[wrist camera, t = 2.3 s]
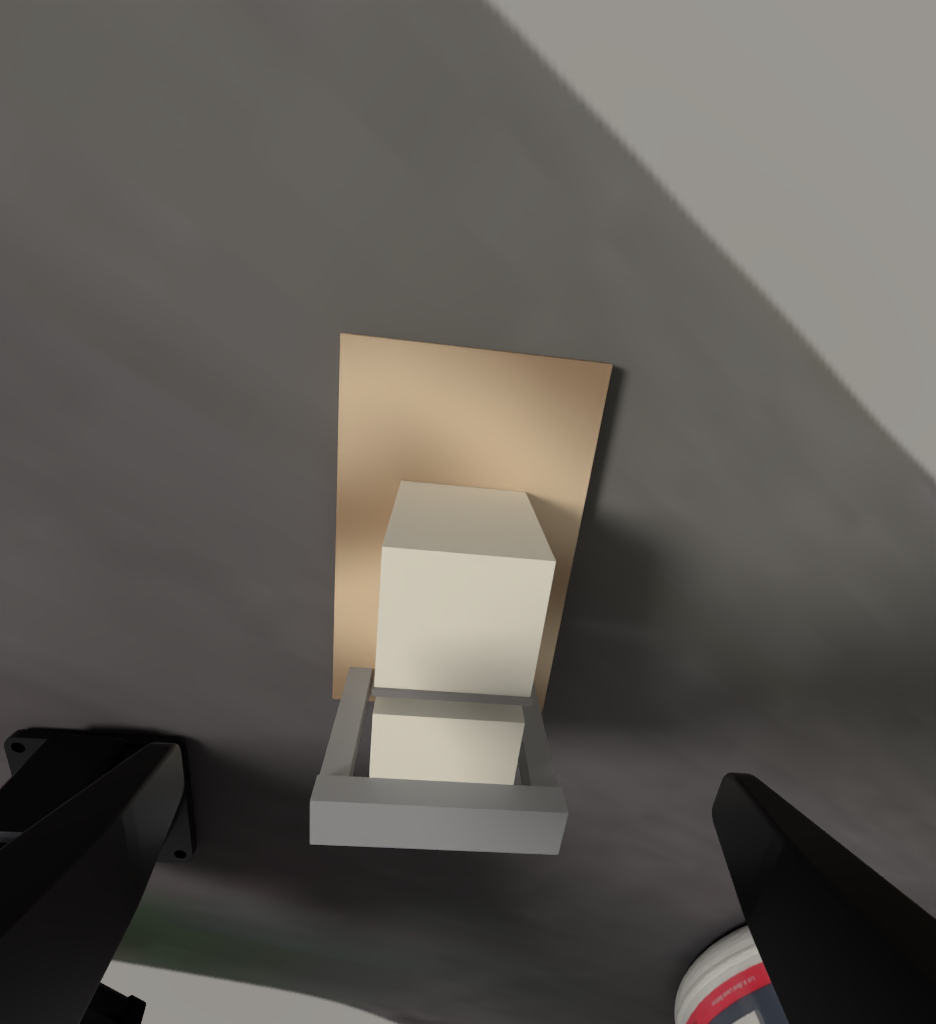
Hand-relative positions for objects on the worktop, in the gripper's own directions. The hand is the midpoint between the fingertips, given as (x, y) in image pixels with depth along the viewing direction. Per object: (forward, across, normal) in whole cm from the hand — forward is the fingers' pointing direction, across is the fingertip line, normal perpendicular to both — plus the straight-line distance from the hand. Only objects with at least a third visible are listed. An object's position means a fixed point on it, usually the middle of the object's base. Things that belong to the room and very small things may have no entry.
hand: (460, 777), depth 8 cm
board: (+10, 0, 0) cm, 10 cm away
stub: (+9, 0, 0) cm, 9 cm away
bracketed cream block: (+9, 0, +5) cm, 10 cm away
